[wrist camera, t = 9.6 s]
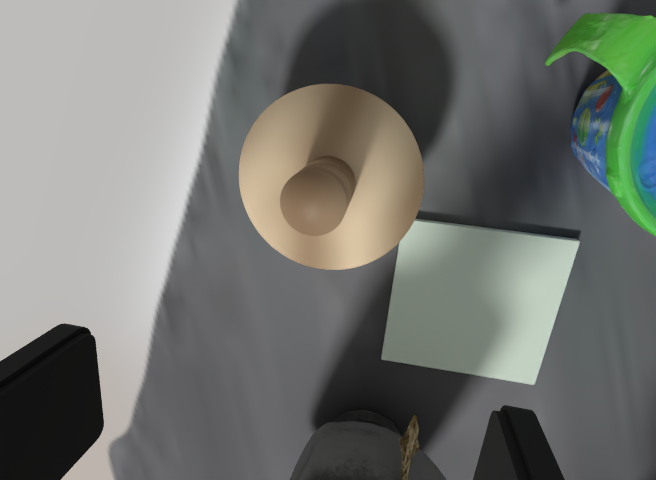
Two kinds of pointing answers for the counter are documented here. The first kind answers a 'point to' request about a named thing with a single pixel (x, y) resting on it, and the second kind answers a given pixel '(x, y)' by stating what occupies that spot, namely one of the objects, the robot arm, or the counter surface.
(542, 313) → the mat
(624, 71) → the snack cup
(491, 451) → the robot arm
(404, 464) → the pitcher
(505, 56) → the counter surface
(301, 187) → the lid
